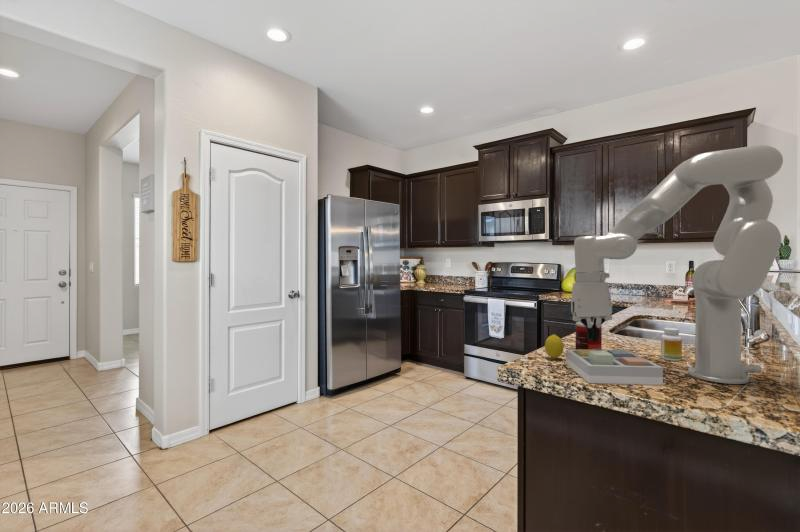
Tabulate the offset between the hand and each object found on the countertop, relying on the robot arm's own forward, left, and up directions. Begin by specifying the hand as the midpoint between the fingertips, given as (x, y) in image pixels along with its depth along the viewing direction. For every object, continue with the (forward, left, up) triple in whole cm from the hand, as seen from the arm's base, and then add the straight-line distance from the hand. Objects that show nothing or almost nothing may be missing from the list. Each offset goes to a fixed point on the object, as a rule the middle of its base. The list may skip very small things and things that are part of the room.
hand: (593, 340), depth 111 cm
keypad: (-3, +4, -8) cm, 10 cm away
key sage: (+1, +8, -5) cm, 10 cm away
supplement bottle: (-29, -14, -9) cm, 33 cm away
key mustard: (+1, 0, -6) cm, 6 cm away
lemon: (+8, -11, -9) cm, 16 cm away
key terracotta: (-7, +8, -6) cm, 13 cm away
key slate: (-7, 0, -6) cm, 10 cm away
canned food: (-4, -15, -9) cm, 18 cm away
